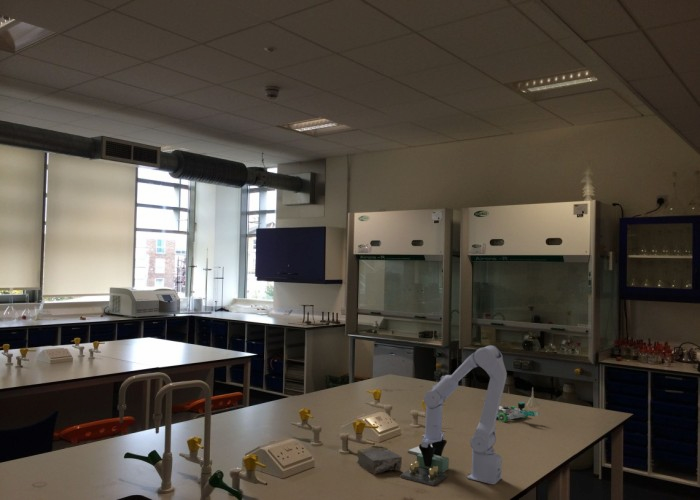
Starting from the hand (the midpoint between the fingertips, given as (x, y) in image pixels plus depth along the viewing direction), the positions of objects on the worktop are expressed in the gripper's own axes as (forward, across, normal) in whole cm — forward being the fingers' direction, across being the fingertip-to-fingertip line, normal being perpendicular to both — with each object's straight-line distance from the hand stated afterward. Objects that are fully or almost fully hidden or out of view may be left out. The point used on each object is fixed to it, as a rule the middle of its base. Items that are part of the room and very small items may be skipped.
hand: (432, 463), depth 201 cm
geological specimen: (+2, +12, -16) cm, 20 cm away
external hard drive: (+2, -15, -10) cm, 18 cm away
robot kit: (+2, -87, +2) cm, 87 cm away
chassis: (+1, +11, +2) cm, 11 cm away
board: (+2, 0, 0) cm, 2 cm away
